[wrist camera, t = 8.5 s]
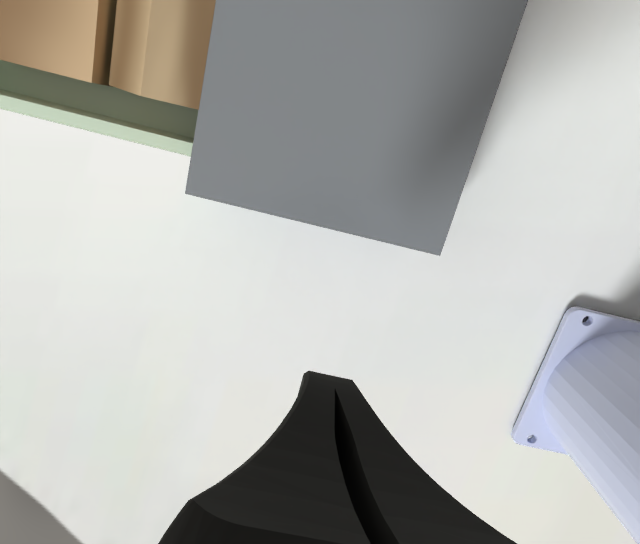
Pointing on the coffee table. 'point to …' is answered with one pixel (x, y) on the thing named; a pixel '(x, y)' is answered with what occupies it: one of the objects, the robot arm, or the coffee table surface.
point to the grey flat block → (350, 110)
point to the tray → (97, 108)
